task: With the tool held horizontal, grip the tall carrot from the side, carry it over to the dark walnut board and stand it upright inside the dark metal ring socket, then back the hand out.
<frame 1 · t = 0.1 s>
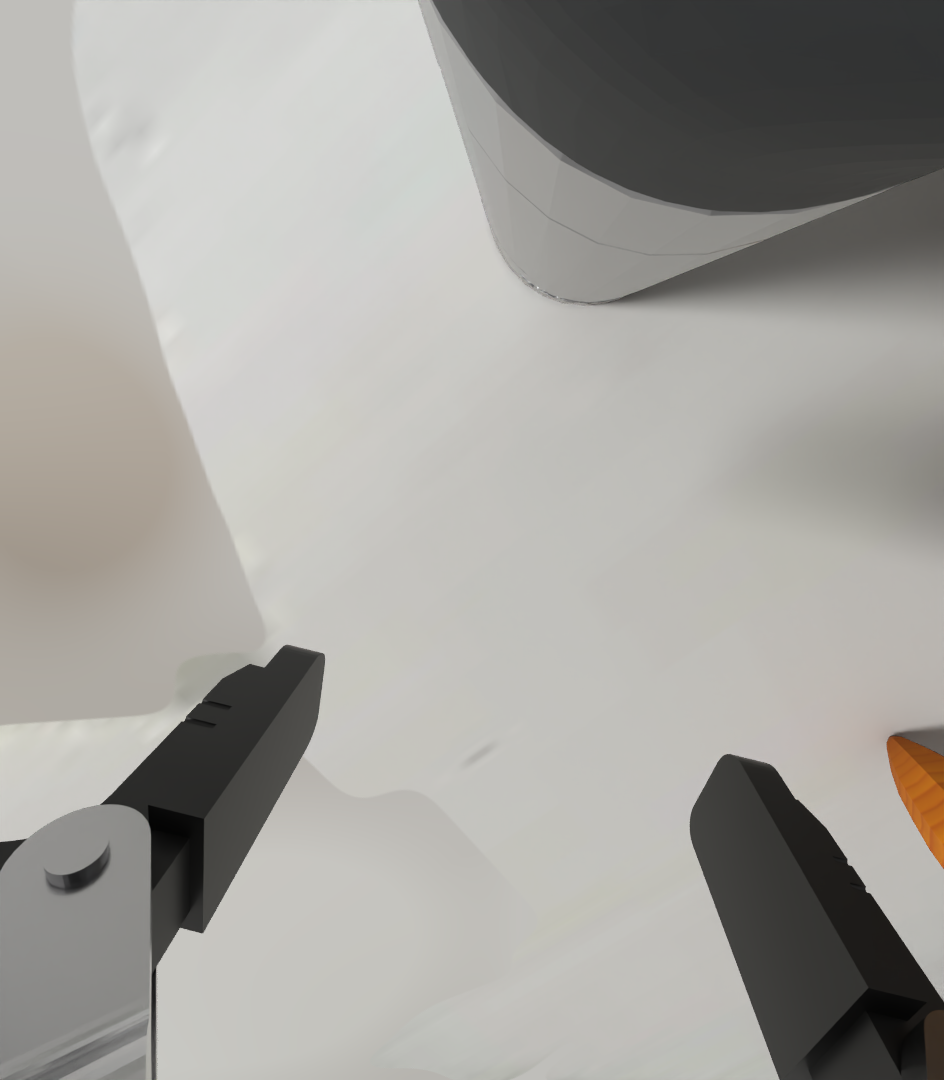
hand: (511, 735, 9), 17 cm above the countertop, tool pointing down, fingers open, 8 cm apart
carrot: (889, 735, 29), on the countertop
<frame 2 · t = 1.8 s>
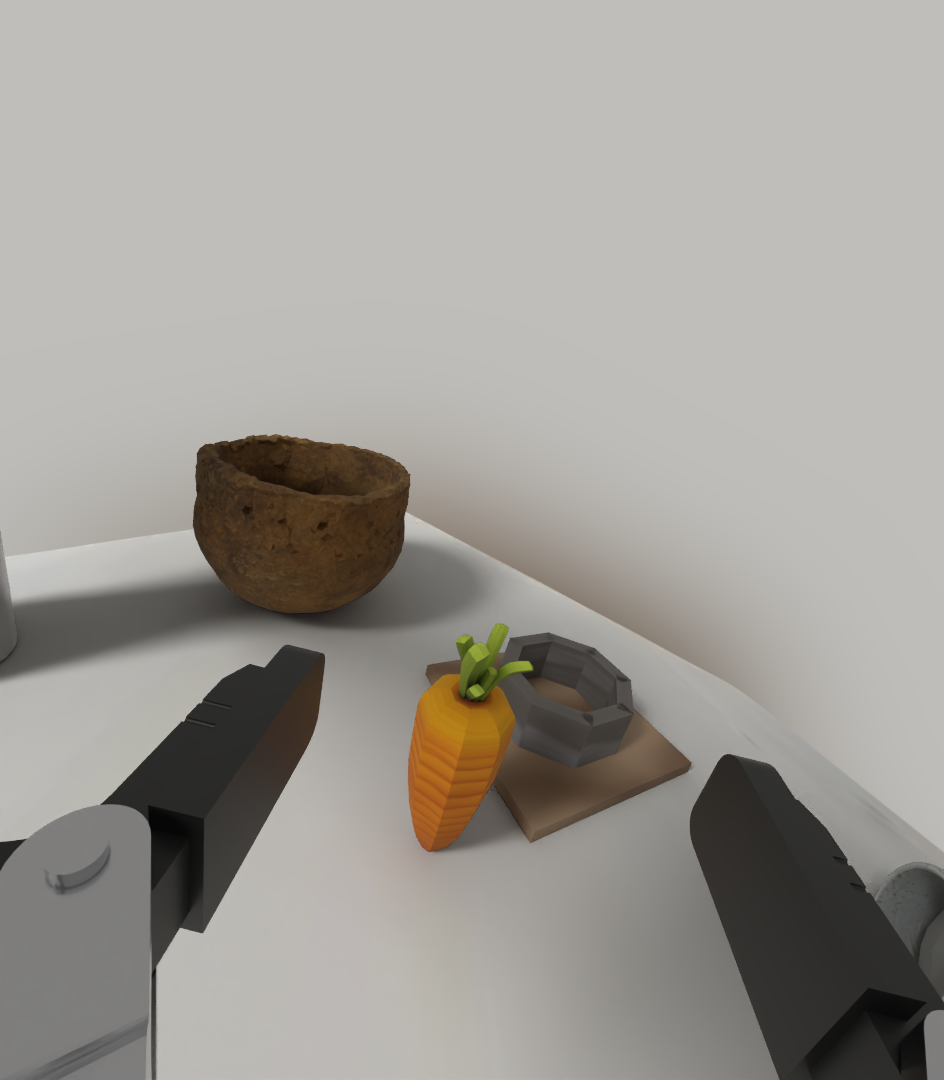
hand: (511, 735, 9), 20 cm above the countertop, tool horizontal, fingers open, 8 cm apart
bowl: (300, 600, 47), on the countertop
ceramic mug: (937, 998, 26), on the countertop
carrot: (428, 849, 27), on the countertop
ring holder: (549, 720, 39), on the countertop
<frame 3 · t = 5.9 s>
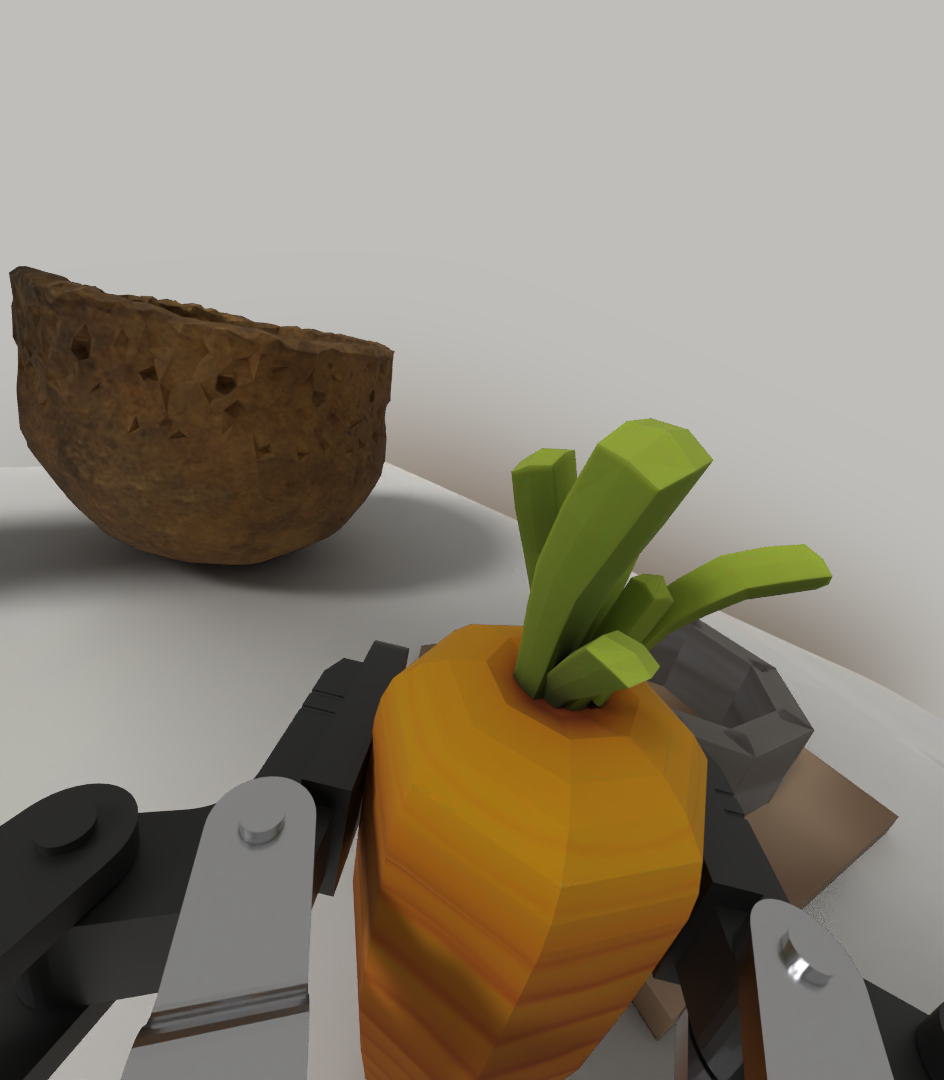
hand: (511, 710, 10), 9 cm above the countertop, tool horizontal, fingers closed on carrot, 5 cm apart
bowl: (228, 552, 31), on the countertop
ring holder: (631, 739, 22), on the countertop
when the fingers open (11 cm above the countertop, at t = 10.9 s): carrot drops 1 cm, resting on ring holder.
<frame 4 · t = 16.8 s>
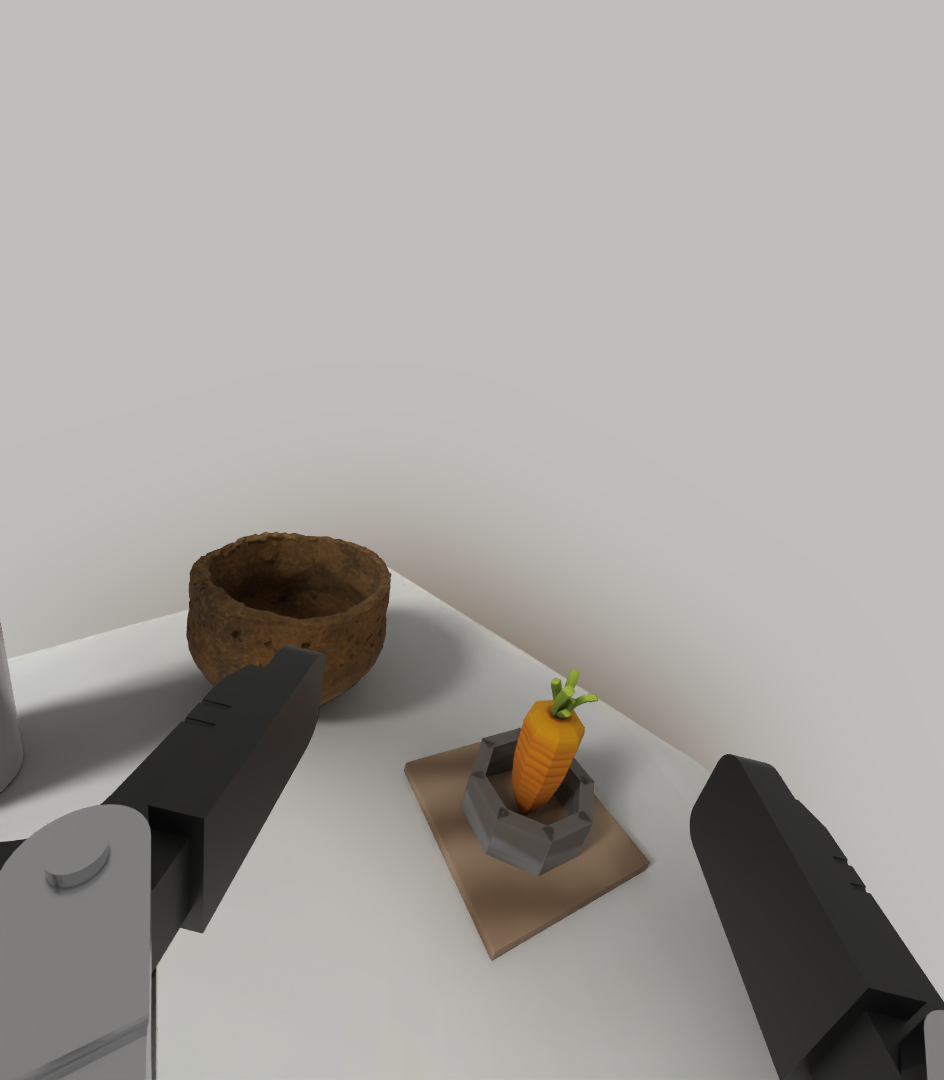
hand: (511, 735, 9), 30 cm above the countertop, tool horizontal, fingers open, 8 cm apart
bowl: (288, 688, 50), on the countertop
carrot: (521, 813, 41), point 1 cm above the countertop, touching ring holder
ring holder: (519, 818, 41), on the countertop
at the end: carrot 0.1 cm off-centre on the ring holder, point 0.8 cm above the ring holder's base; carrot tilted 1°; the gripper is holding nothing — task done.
